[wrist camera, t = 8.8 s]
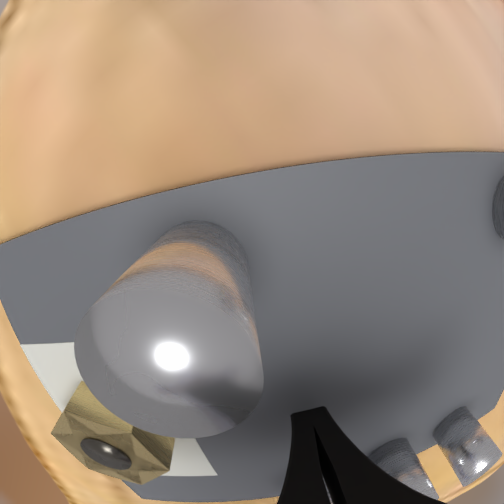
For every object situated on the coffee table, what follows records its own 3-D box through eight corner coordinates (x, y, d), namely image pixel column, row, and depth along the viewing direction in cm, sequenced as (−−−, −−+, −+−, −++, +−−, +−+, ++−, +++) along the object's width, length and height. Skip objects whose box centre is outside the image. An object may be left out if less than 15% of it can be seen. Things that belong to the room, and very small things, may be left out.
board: (488, 401, 14) (494, 408, 13) (144, 488, 14) (142, 498, 13) (533, 154, 9) (545, 155, 8) (-3, 245, 9) (-17, 251, 8)
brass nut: (123, 373, 10) (107, 409, 8) (189, 453, 11) (185, 485, 9) (48, 385, 10) (30, 412, 8) (113, 456, 11) (105, 483, 9)
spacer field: (469, 419, 13) (500, 461, 8) (247, 494, 13) (252, 557, 8) (521, 173, 8) (599, 190, 3) (140, 232, 8) (46, 304, 3)
